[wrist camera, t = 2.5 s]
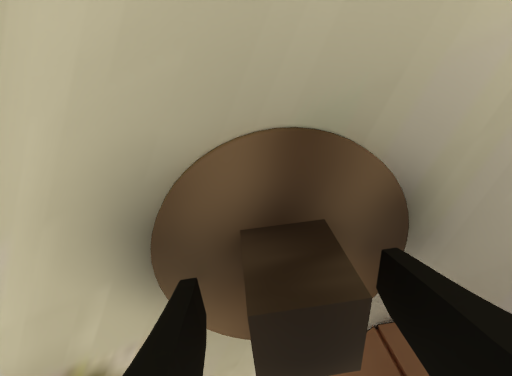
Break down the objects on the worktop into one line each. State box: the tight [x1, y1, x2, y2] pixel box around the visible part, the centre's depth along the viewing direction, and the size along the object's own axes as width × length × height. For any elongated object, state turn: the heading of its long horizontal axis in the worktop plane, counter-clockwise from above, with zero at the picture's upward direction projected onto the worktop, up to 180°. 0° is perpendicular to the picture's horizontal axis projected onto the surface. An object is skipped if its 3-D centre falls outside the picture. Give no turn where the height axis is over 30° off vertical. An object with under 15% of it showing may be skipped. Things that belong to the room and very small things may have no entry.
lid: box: [151, 127, 409, 376], centre depth 10 cm, size 11×11×5 cm
